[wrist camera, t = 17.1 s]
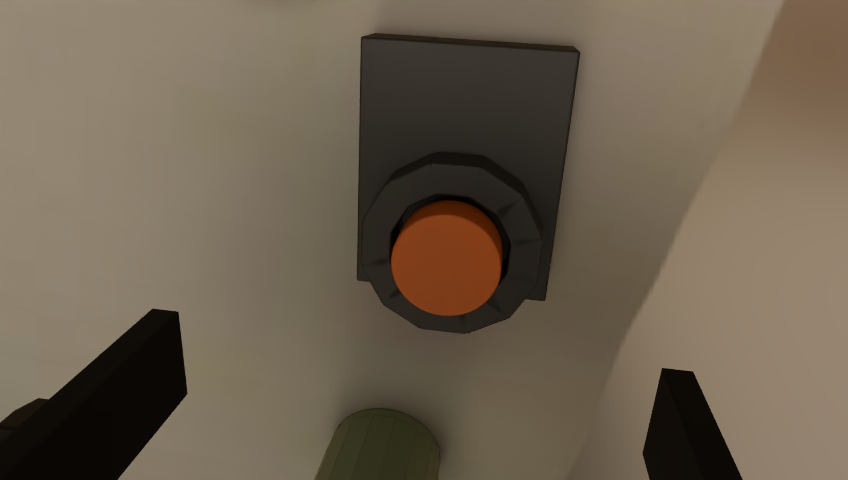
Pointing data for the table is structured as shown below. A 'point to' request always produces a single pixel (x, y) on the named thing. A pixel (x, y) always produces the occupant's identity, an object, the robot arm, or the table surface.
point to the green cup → (380, 449)
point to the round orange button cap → (447, 258)
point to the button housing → (463, 155)
